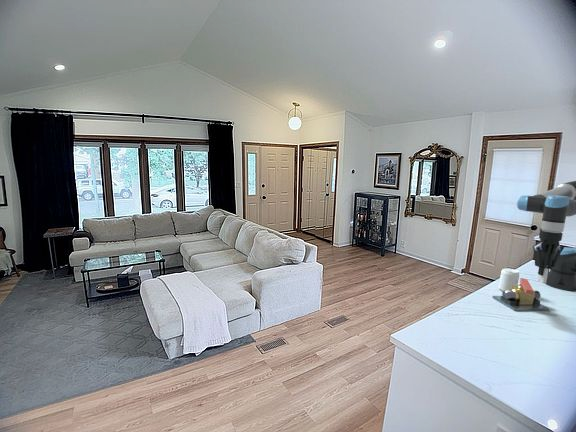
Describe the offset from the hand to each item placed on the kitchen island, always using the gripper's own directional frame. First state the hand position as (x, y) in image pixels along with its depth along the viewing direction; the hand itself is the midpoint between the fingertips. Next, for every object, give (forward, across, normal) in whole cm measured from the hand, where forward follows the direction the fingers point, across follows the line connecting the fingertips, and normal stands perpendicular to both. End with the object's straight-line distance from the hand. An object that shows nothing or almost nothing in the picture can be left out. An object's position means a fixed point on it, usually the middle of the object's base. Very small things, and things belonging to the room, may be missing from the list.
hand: (541, 281), depth 135 cm
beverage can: (+18, -11, -29) cm, 36 cm away
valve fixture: (+17, -4, -13) cm, 22 cm away
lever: (+8, 0, -7) cm, 10 cm away
